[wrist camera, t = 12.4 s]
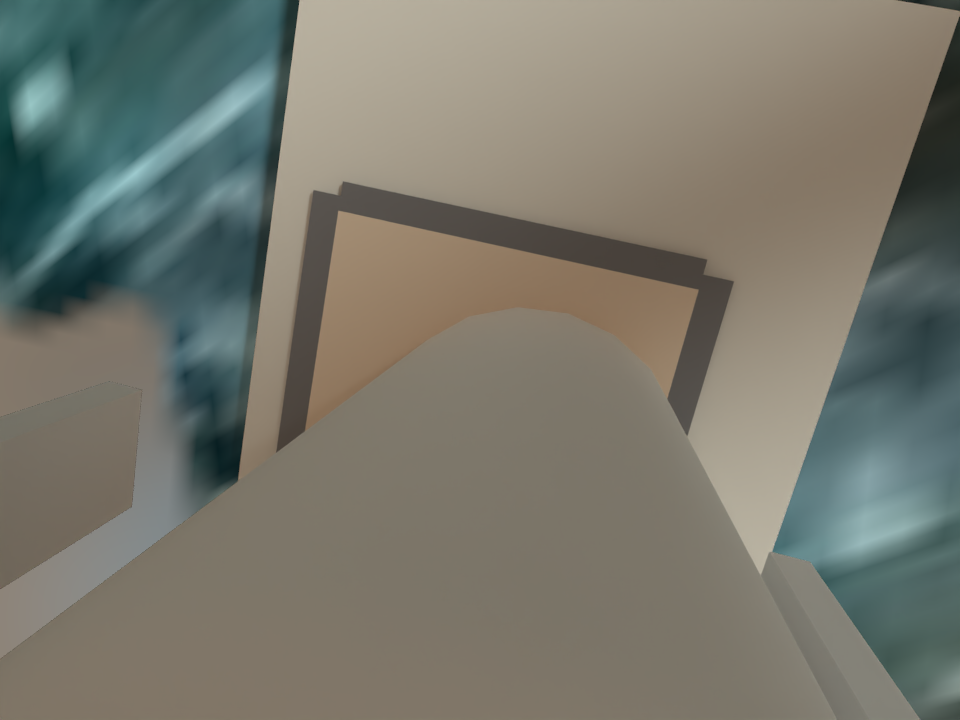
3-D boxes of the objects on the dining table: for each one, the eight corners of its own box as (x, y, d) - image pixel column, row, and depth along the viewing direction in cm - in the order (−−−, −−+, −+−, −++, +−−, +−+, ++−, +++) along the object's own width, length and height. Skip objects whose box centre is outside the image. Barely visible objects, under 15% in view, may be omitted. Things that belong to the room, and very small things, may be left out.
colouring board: (327, -81, 17) (309, -103, 16) (937, 24, 16) (966, 8, 15) (234, 614, 22) (215, 635, 21) (689, 746, 21) (695, 777, 20)
